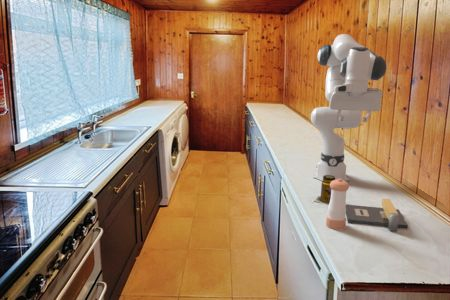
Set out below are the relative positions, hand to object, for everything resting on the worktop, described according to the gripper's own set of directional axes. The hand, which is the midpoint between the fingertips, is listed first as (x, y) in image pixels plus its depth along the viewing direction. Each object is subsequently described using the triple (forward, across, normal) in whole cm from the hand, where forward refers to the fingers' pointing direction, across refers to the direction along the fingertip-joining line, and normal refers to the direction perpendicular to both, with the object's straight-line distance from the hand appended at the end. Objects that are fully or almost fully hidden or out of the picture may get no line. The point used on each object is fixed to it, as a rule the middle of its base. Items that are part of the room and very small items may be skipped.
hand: (353, 121), depth 156 cm
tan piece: (+38, -15, +12) cm, 43 cm away
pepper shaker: (+39, +6, +20) cm, 44 cm away
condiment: (+38, +8, -6) cm, 39 cm away
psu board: (+38, -10, +9) cm, 41 cm away
